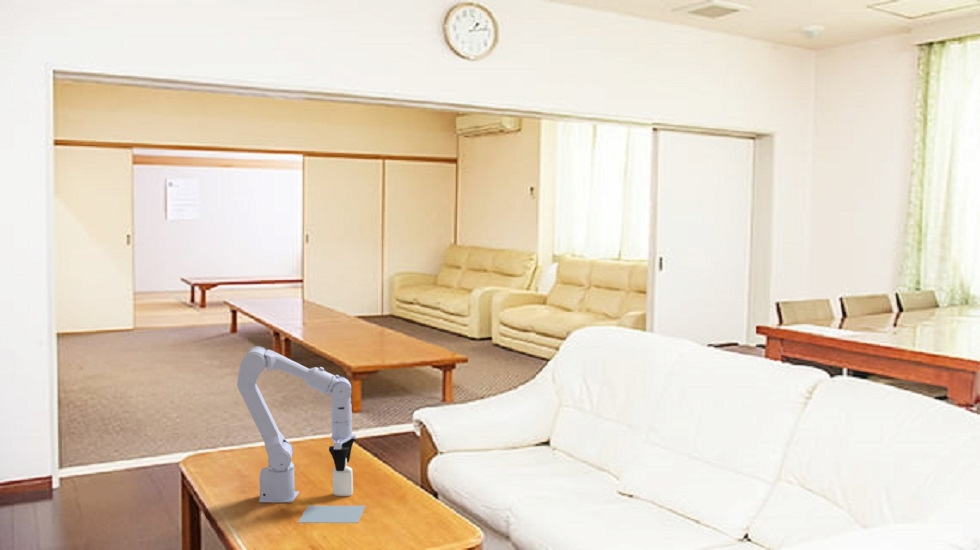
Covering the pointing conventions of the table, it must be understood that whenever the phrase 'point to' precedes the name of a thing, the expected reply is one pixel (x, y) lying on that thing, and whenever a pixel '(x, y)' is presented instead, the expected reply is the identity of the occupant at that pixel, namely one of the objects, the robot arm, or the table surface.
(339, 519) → the mat
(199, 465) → the table surface
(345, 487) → the eye dropper bottle
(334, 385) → the robot arm
